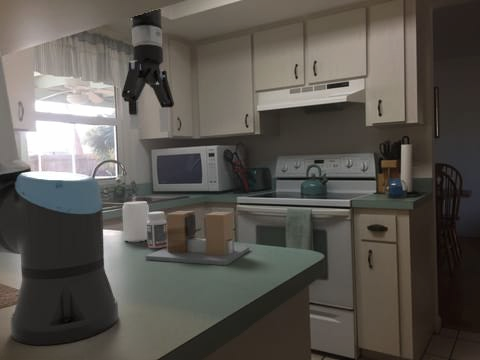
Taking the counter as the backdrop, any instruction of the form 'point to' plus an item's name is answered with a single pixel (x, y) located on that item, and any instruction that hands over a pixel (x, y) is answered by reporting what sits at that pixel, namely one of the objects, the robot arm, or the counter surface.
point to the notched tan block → (180, 230)
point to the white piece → (135, 221)
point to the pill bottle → (156, 230)
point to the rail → (208, 244)
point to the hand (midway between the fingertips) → (151, 130)
